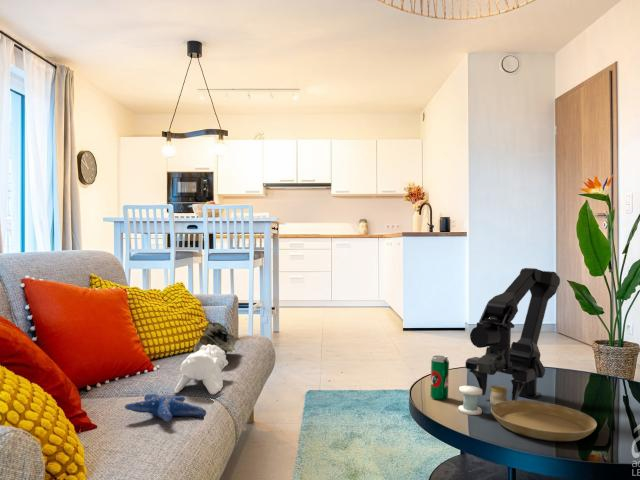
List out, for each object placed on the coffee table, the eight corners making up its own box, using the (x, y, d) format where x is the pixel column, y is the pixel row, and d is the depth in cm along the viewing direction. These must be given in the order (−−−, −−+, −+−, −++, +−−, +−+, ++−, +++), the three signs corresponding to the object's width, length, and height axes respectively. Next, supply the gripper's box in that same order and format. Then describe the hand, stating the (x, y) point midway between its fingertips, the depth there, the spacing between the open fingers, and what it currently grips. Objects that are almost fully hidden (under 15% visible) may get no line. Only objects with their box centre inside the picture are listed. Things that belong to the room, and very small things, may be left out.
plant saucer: (492, 406, 140) (492, 394, 140) (589, 419, 131) (589, 407, 131) (488, 436, 117) (488, 422, 117) (604, 454, 108) (604, 439, 108)
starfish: (196, 431, 114) (197, 410, 114) (116, 428, 115) (116, 407, 115) (215, 405, 133) (215, 386, 133) (146, 403, 133) (146, 384, 133)
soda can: (448, 401, 142) (449, 359, 142) (430, 400, 143) (431, 358, 143) (447, 396, 147) (448, 355, 147) (430, 394, 148) (431, 354, 148)
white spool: (466, 406, 138) (467, 384, 138) (486, 412, 134) (486, 389, 134) (454, 410, 134) (454, 388, 134) (474, 416, 130) (474, 393, 130)
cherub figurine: (233, 345, 160) (218, 352, 140) (230, 385, 159) (215, 397, 139) (193, 343, 161) (173, 349, 141) (190, 382, 159) (169, 394, 140)
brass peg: (495, 399, 145) (495, 384, 145) (509, 403, 141) (509, 388, 142) (487, 402, 142) (487, 387, 142) (501, 406, 139) (501, 391, 139)
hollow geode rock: (221, 362, 200) (197, 334, 201) (245, 341, 200) (220, 313, 200) (201, 379, 172) (173, 346, 173) (229, 354, 172) (200, 322, 172)
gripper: (455, 341, 144) (454, 395, 143) (517, 353, 130) (515, 413, 129) (476, 337, 151) (474, 389, 151) (536, 348, 137) (535, 405, 137)
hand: (498, 398), depth 142 cm, fingers open, 9 cm apart
